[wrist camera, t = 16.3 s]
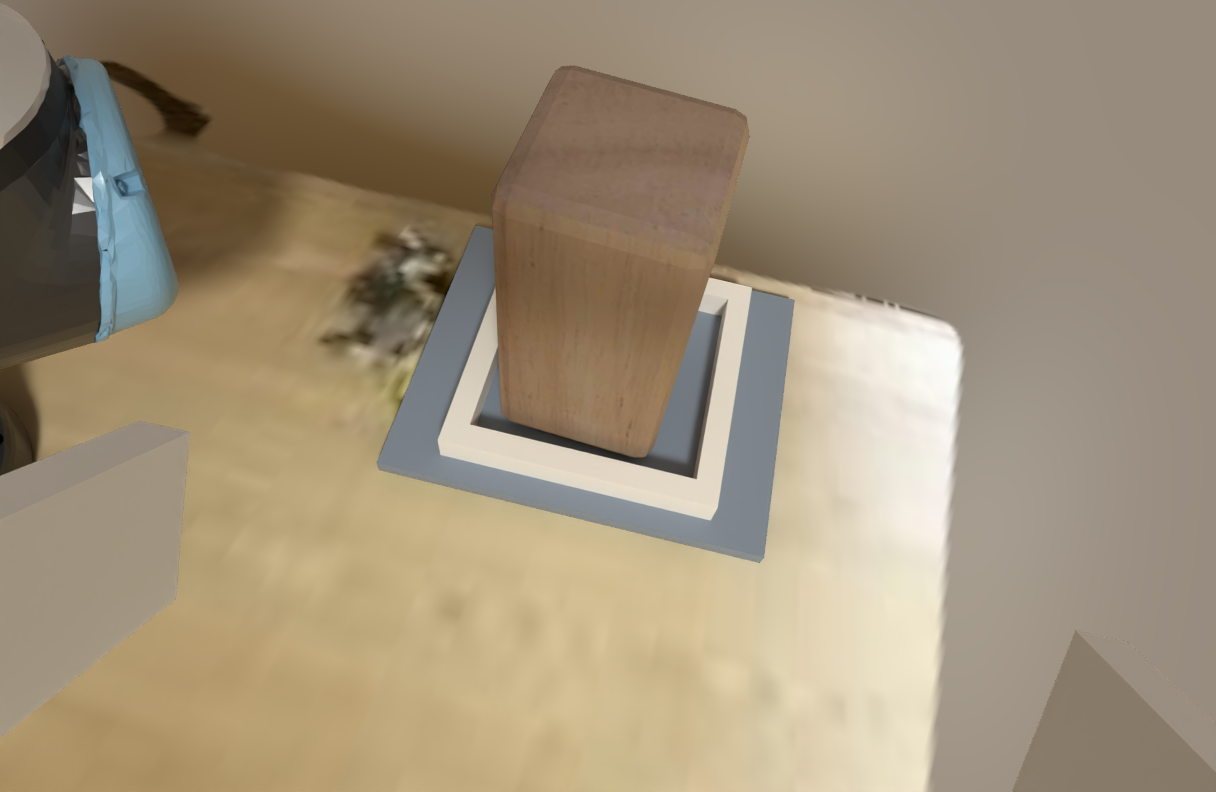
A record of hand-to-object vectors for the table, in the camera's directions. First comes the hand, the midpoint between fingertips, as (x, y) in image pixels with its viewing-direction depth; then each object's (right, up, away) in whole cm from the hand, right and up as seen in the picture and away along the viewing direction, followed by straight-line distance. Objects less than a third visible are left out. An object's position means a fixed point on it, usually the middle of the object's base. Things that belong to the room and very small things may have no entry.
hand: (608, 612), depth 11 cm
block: (-1, +4, +40) cm, 41 cm away
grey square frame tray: (0, +4, +41) cm, 42 cm away
